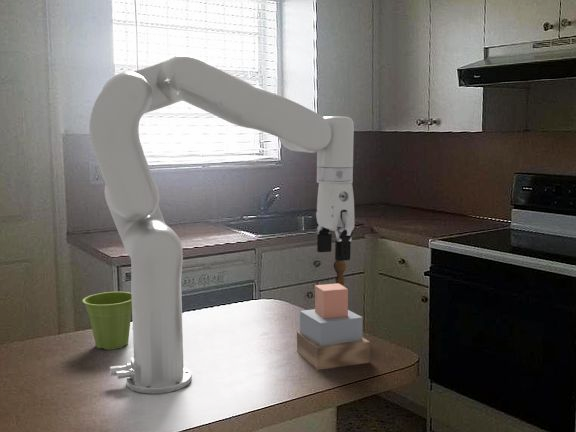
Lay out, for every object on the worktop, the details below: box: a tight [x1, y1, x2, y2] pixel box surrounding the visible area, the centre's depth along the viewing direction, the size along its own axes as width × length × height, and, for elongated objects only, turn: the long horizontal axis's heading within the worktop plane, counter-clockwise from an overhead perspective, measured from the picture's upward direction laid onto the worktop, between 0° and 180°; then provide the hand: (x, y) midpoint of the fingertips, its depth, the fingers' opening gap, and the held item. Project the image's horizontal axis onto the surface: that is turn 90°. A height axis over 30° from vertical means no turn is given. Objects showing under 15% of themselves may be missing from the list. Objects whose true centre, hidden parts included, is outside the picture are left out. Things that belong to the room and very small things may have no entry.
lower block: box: [296, 330, 371, 371], centre depth 144 cm, size 12×12×5 cm
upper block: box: [299, 308, 364, 346], centre depth 144 cm, size 10×10×5 cm
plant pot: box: [82, 291, 132, 351], centre depth 152 cm, size 12×12×11 cm
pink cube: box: [314, 283, 349, 319], centre depth 143 cm, size 6×6×6 cm
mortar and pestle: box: [333, 260, 349, 290], centre depth 160 cm, size 7×6×18 cm
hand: (333, 255), depth 141 cm, fingers open, 9 cm apart
